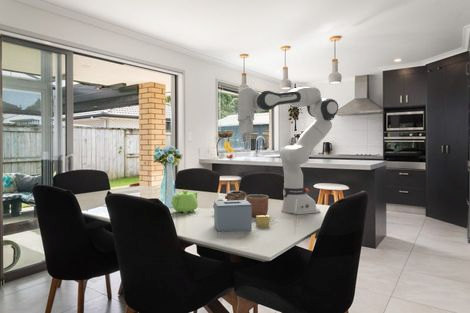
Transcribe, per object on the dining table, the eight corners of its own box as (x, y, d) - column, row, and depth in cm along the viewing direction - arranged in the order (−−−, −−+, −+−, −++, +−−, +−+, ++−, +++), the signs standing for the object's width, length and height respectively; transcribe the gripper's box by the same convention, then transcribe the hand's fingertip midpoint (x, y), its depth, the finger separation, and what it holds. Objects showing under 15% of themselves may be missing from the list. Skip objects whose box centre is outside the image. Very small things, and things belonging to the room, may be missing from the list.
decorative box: (217, 208, 198) (217, 192, 197) (232, 203, 215) (232, 188, 215) (236, 210, 192) (236, 194, 191) (250, 204, 210) (249, 190, 209)
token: (267, 225, 157) (267, 215, 157) (269, 226, 155) (269, 216, 155) (256, 225, 156) (256, 215, 156) (257, 227, 154) (257, 216, 154)
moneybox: (246, 223, 160) (245, 199, 160) (251, 230, 148) (251, 204, 148) (214, 225, 157) (214, 201, 157) (217, 231, 145) (217, 205, 145)
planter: (264, 212, 185) (264, 194, 184) (271, 217, 173) (271, 197, 172) (243, 213, 182) (243, 194, 182) (249, 218, 170) (249, 198, 170)
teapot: (189, 207, 200) (189, 187, 200) (205, 210, 192) (205, 189, 192) (164, 213, 184) (164, 191, 184) (181, 216, 176) (180, 193, 176)
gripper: (256, 115, 166) (256, 142, 166) (247, 118, 186) (247, 142, 186) (244, 115, 165) (244, 142, 165) (237, 118, 185) (237, 142, 185)
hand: (246, 142), depth 176 cm, fingers open, 8 cm apart
